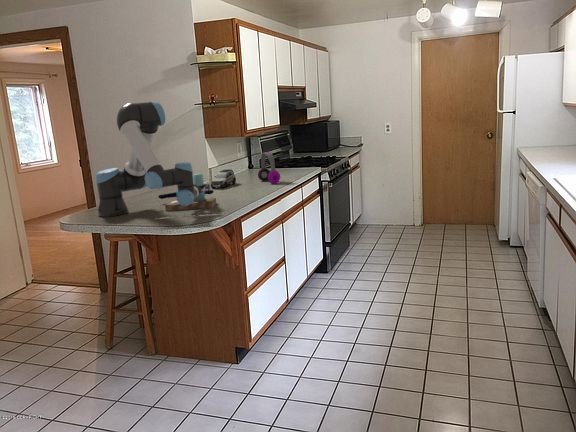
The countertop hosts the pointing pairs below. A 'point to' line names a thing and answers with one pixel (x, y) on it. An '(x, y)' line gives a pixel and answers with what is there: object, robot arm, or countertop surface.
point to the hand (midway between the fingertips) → (200, 185)
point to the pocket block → (191, 205)
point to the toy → (177, 193)
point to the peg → (199, 182)
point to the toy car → (223, 179)
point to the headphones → (265, 173)
